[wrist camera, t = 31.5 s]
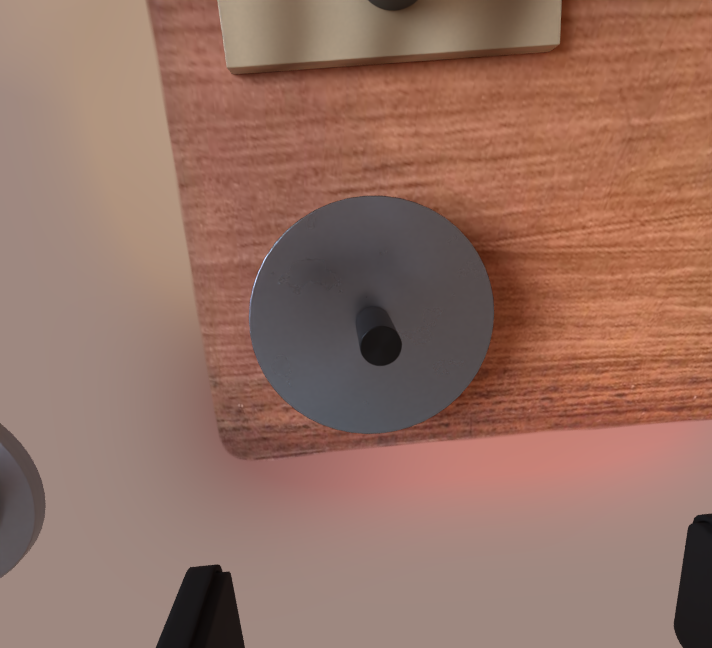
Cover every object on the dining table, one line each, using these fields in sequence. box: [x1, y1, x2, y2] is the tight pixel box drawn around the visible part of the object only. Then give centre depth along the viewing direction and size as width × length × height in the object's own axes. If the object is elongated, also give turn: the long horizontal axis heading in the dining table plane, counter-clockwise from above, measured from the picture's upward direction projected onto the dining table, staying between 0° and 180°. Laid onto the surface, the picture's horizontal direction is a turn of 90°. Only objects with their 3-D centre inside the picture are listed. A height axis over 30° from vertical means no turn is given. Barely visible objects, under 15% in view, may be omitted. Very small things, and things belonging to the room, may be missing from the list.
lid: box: [249, 196, 494, 434], centre depth 27 cm, size 17×17×6 cm
